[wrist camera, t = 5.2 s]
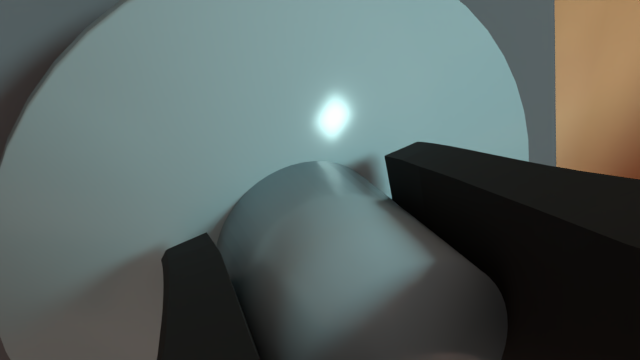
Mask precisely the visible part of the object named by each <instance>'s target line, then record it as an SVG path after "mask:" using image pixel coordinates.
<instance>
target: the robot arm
mask: <svg viewBox="0 0 640 360" xmlns="http://www.w3.org/2000/svg"><path fill="white" fill-rule="evenodd" d="M384 157H385V162H386V168H387V173H388V179H389V184H390V190H391V195H392V200H393V201H395V202H396V203H397V204H398V205H400V206H401V207H402V208H403V209H405V210H406V211H407V212H408V213H410V214H411V215H412V216H413V217H415V218H416V219H417V220H418V221H420V222H421V223H422V224H423V225H425V226H426V227H427V228H428V229H430V230H431V231H432V232H433V233H435V234H436V235H437V236H438V237H440V238H441V239H442V240H443V241H445V242H446V243H447V244H448V245H450V246H451V247H452V248H453V249H455V250H456V251H457V252H458V253H460V254H461V255H462V256H464V257H465V258H466V259H467V260H469V261H470V262H471V263H472V264H474V265H475V266H476V267H477V268H479V269H480V270H481V271H482V272H484V273H485V274H486V275H487V276H488V277H489V278H490V279H491V280H492V281H493V282H494V283H495V284H496V286H497V287H498V289H499V291H500V292H501V294H502V297H503V299H504V302H505V306H506V310H507V319H508V330H507V339H506V344H505V349H504V352H503V355H502V358H501V360H640V179H631V178H624V177H617V176H611V175H604V174H597V173H590V172H583V171H577V170H572V169H566V168H560V167H554V166H549V165H543V164H538V163H533V162H528V161H523V160H517V159H512V158H508V157H503V156H498V155H493V154H488V153H483V152H478V151H473V150H468V149H463V148H458V147H453V146H447V145H441V144H435V143H428V142H415V143H413V144H411V145H408V146H406V147H404V148H401V149H399V150H397V151H394V152H392V153H390V154H387V155H385V156H384ZM161 262H162V267H163V310H162V321H161V329H160V338H159V347H158V355H157V360H260V357H259V354H258V351H257V349H256V346H255V343H254V341H253V338H252V335H251V332H250V330H249V327H248V324H247V321H246V319H245V316H244V314H243V311H242V308H241V306H240V303H239V300H238V298H237V295H236V292H235V290H234V287H233V284H232V282H231V279H230V277H229V274H228V271H227V269H226V266H225V263H224V261H223V258H222V255H221V253H220V251H219V250H218V248H217V247H216V245H215V244H214V242H213V241H212V239H211V238H210V237H209V235H208V234H207V232H206V233H204V234H201V235H199V236H197V237H194V238H192V239H190V240H187V241H185V242H183V243H181V244H178V245H176V246H174V247H171V248H169V249H167V250H166V251H165V253H164V255H163V257H162V259H161Z"/></svg>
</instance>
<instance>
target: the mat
mask: <svg viewBox="0 0 640 360" xmlns="http://www.w3.org/2000/svg"><path fill="white" fill-rule="evenodd" d="M119 1H120V0H0V160H1V157H2V154H3V151H4V148H5V145H6V142H7V138H8V136H9V134H10V132H11V130H12V128H13V126H14V124H15V123H16V121H17V119H18V117H19V115H20V113H21V111H22V109H23V107H24V105H25V103H26V101H27V99H28V97H29V96H30V94H31V93H32V92H33V90H34V89H35V87H36V86H37V85H38V83H39V82H40V80H41V79H42V77H43V76H44V75H45V73H46V72H47V70H48V69H49V67H50V66H51V65H52V63H53V62H54V61H55V60H56V59H57V58H58V56H59V55H60V54H61V53H62V52H63V51H64V50H65V49H66V48H67V47H68V46H69V45H70V44H71V43H72V42H73V41H74V40H75V38H76V37H77V36H78V35H79V34H80V33H81V32H82V31H83V30H84V29H85V28H86V27H87V26H89V25H90V24H91V23H92V22H94V21H95V20H96V19H97V18H99V17H100V16H101V15H102V14H104V13H105V12H106V11H107V10H109V9H110V8H111V7H112V6H114V5H115V4H116V3H117V2H119ZM459 1H460V2H461V3H463V4H464V5H465V6H466V7H467V8H468V9H469V10H470V11H471V12H472V13H473V14H474V16H475V17H476V18H477V19H478V20H479V21H480V22H481V23H482V25H483V26H484V27H485V28H486V29H487V30H488V32H489V33H490V35H491V36H492V38H493V40H494V41H495V43H496V44H497V46H498V47H499V49H500V50H501V52H502V54H503V55H504V57H505V59H506V62H507V64H508V66H509V68H510V70H511V73H512V75H513V77H514V79H515V82H516V84H517V88H518V91H519V95H520V98H521V102H522V105H523V109H524V114H525V121H526V127H527V134H528V150H529V162H533V163H538V164H543V165H549V166H554V167H556V114H555V18H554V0H459ZM0 360H10V358H9V356H8V355H7V353H6V351H5V348H4V346H3V343H2V340H1V338H0Z"/></svg>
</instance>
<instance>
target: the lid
mask: <svg viewBox="0 0 640 360" xmlns="http://www.w3.org/2000/svg"><path fill="white" fill-rule="evenodd" d="M415 142H428V143H435V144H441V145H447V146H453V147H458V148H463V149H468V150H473V151H478V152H483V153H488V154H493V155H498V156H503V157H508V158H512V159H517V160H523V161H528V162H529V150H528V134H527V127H526V121H525V114H524V109H523V105H522V102H521V98H520V95H519V91H518V88H517V84H516V82H515V79H514V77H513V75H512V73H511V70H510V68H509V66H508V64H507V62H506V59H505V57H504V55H503V54H502V52H501V50H500V49H499V47H498V46H497V44H496V43H495V41H494V40H493V38H492V36H491V35H490V33H489V32H488V30H487V29H486V28H485V27H484V26H483V25H482V23H481V22H480V21H479V20H478V19H477V18H476V17H475V16H474V14H473V13H472V12H471V11H470V10H469V9H468V8H467V7H466V6H465V5H464V4H463V3H461V2H460V1H459V0H120V1H119V2H117V3H116V4H115V5H114V6H112V7H111V8H110V9H109V10H107V11H106V12H105V13H104V14H102V15H101V16H100V17H99V18H97V19H96V20H95V21H94V22H92V23H91V24H90V25H89V26H87V27H86V28H85V29H84V30H83V31H82V32H81V33H80V34H79V35H78V36H77V37H76V38H75V40H74V41H73V42H72V43H71V44H70V45H69V46H68V47H67V48H66V49H65V50H64V51H63V52H62V53H61V54H60V55H59V56H58V58H57V59H56V60H55V61H54V62H53V63H52V65H51V66H50V67H49V69H48V70H47V72H46V73H45V75H44V76H43V77H42V79H41V80H40V82H39V83H38V85H37V86H36V87H35V89H34V90H33V92H32V93H31V94H30V96H29V97H28V99H27V101H26V103H25V105H24V107H23V109H22V111H21V113H20V115H19V117H18V119H17V121H16V123H15V124H14V126H13V128H12V130H11V132H10V134H9V136H8V138H7V142H6V145H5V148H4V151H3V154H2V157H1V160H0V338H1V340H2V343H3V346H4V348H5V351H6V353H7V355H8V356H9V358H10V360H157V355H158V347H159V338H160V329H161V321H162V310H163V267H162V262H161V259H162V257H163V255H164V253H165V251H166V250H167V249H169V248H171V247H174V246H176V245H178V244H181V243H183V242H185V241H187V240H190V239H192V238H194V237H197V236H199V235H201V234H204V233H206V232H207V234H208V235H209V237H210V238H211V239H212V241H213V242H214V244H215V245H216V247H217V248H218V250H219V251H220V253H221V255H222V258H223V261H224V263H225V266H226V269H227V271H228V274H229V277H230V279H231V282H232V284H233V287H234V290H235V292H236V295H237V298H238V300H239V303H240V306H241V308H242V311H243V314H244V316H245V319H246V321H247V324H248V327H249V330H250V332H251V335H252V338H253V341H254V343H255V346H256V349H257V351H258V354H259V357H260V360H501V358H502V355H503V352H504V349H505V344H506V339H507V330H508V319H507V310H506V306H505V302H504V299H503V297H502V294H501V292H500V291H499V289H498V287H497V286H496V284H495V283H494V282H493V281H492V280H491V279H490V278H489V277H488V276H487V275H486V274H485V273H484V272H482V271H481V270H480V269H479V268H477V267H476V266H475V265H474V264H472V263H471V262H470V261H469V260H467V259H466V258H465V257H464V256H462V255H461V254H460V253H458V252H457V251H456V250H455V249H453V248H452V247H451V246H450V245H448V244H447V243H446V242H445V241H443V240H442V239H441V238H440V237H438V236H437V235H436V234H435V233H433V232H432V231H431V230H430V229H428V228H427V227H426V226H425V225H423V224H422V223H421V222H420V221H418V220H417V219H416V218H415V217H413V216H412V215H411V214H410V213H408V212H407V211H406V210H405V209H403V208H402V207H401V206H400V205H398V204H397V203H396V202H395V201H393V200H392V195H391V190H390V184H389V179H388V173H387V168H386V162H385V157H384V156H385V155H387V154H390V153H392V152H394V151H397V150H399V149H401V148H404V147H406V146H408V145H411V144H413V143H415Z"/></svg>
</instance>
